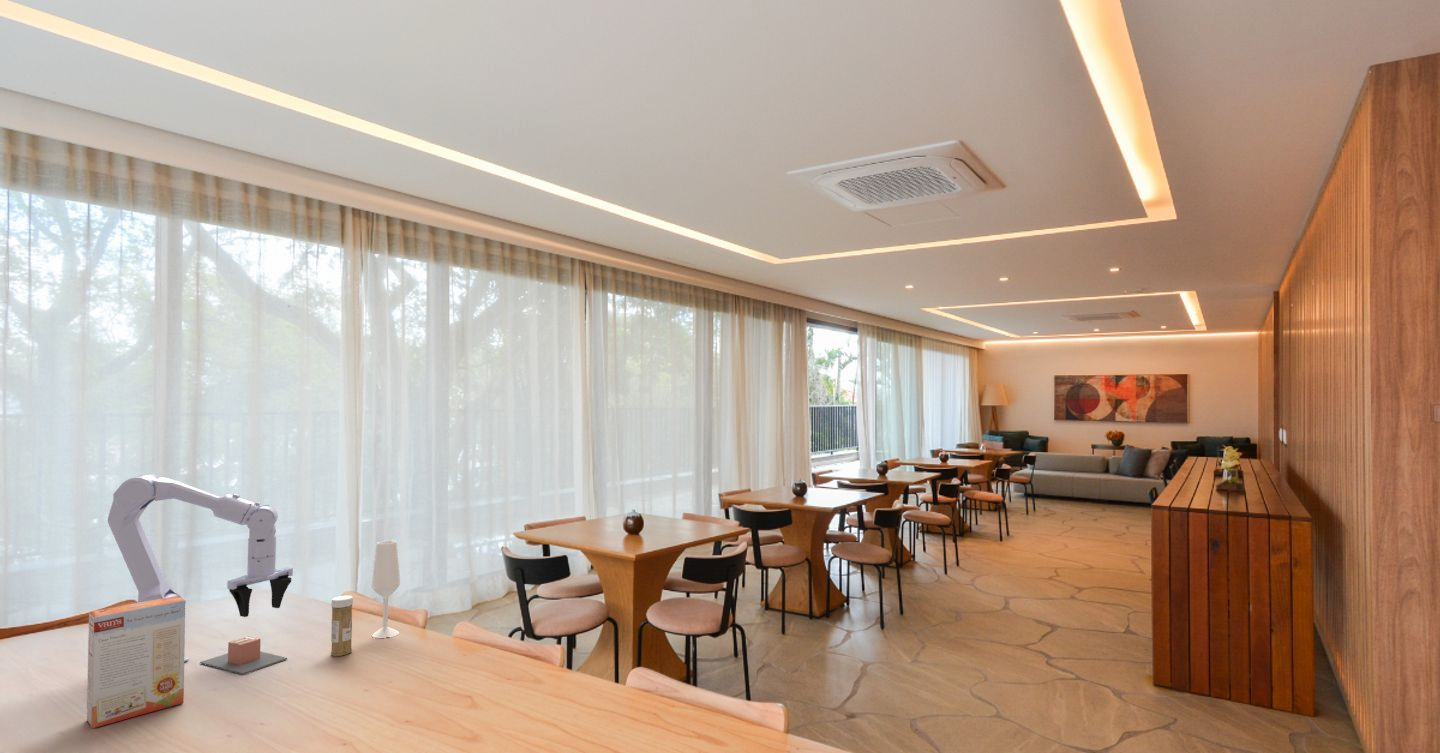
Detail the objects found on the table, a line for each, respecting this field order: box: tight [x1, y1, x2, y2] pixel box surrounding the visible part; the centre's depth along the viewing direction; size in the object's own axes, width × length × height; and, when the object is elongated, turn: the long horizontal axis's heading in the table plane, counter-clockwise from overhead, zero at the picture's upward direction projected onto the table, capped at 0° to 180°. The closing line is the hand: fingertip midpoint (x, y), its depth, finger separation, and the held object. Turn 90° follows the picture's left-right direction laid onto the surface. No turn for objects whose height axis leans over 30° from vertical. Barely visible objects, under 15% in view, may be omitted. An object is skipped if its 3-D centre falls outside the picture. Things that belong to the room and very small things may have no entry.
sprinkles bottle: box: [330, 595, 354, 657], centre depth 165 cm, size 5×5×14 cm
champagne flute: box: [371, 539, 401, 639], centre depth 179 cm, size 7×7×24 cm
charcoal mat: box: [199, 651, 288, 676], centre depth 160 cm, size 16×10×1 cm, turn 66°
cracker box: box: [86, 596, 186, 729], centre depth 134 cm, size 14×6×21 cm, turn 141°
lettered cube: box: [227, 635, 261, 665], centre depth 160 cm, size 4×4×5 cm
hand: (260, 611), depth 167 cm, fingers open, 7 cm apart
